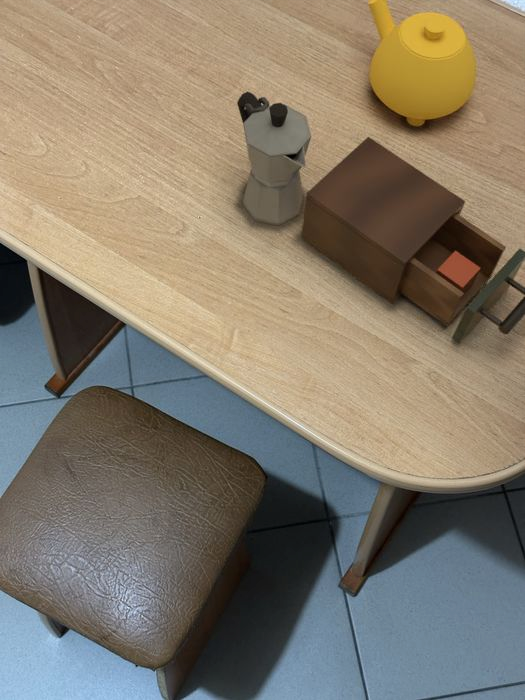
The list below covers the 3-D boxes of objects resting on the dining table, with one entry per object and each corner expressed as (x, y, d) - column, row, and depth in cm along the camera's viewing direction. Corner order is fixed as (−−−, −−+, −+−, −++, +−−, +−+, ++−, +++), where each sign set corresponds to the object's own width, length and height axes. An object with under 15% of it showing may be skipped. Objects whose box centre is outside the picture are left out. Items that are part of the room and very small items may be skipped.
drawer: (537, 305, 110) (557, 273, 103) (487, 364, 106) (505, 334, 99) (421, 225, 116) (433, 189, 109) (369, 278, 111) (378, 244, 104)
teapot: (326, 71, 130) (335, -3, 118) (399, 28, 135) (415, -47, 122) (414, 151, 123) (434, 81, 111) (488, 103, 128) (515, 31, 115)
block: (473, 284, 110) (480, 268, 107) (455, 303, 109) (462, 287, 105) (448, 267, 111) (455, 250, 108) (430, 286, 110) (437, 269, 106)
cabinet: (448, 245, 115) (465, 201, 107) (392, 304, 111) (405, 263, 102) (358, 183, 120) (368, 136, 111) (301, 237, 115) (306, 192, 107)
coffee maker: (323, 218, 117) (337, 129, 101) (270, 245, 115) (276, 158, 99) (266, 147, 122) (270, 52, 106) (214, 172, 120) (211, 78, 104)
